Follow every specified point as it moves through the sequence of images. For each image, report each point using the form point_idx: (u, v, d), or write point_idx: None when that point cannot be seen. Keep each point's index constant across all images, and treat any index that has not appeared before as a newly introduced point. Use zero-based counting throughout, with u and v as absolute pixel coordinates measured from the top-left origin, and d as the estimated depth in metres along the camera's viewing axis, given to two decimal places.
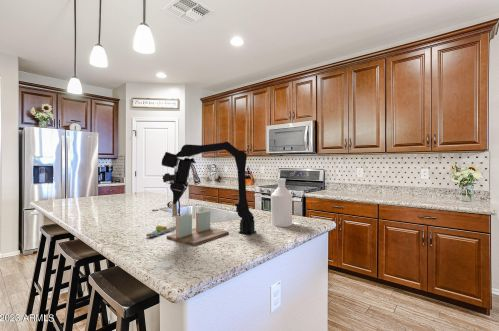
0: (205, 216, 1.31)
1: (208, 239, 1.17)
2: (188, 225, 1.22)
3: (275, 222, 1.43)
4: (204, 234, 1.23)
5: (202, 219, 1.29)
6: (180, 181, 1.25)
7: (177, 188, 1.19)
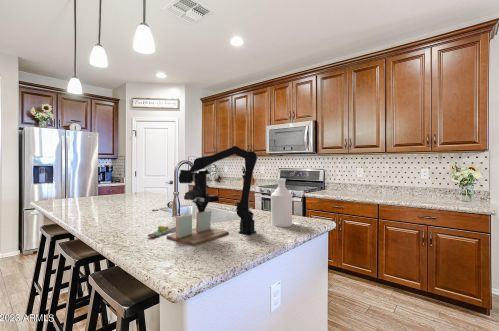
0: (206, 216, 1.31)
1: (208, 239, 1.17)
2: (188, 225, 1.22)
3: (275, 222, 1.43)
4: (204, 234, 1.23)
5: (203, 219, 1.29)
6: (205, 194, 1.30)
7: (215, 200, 1.27)
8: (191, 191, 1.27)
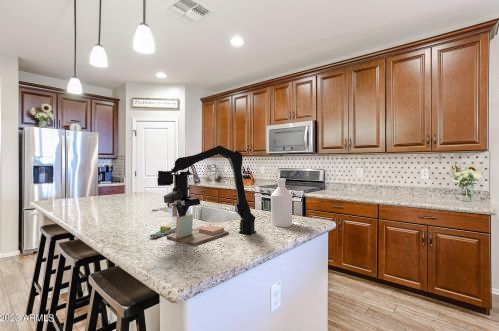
0: None
1: (208, 239, 1.17)
2: (188, 225, 1.22)
3: (275, 222, 1.43)
4: (204, 234, 1.23)
5: None
6: (186, 196, 1.21)
7: (196, 203, 1.17)
8: (170, 194, 1.17)
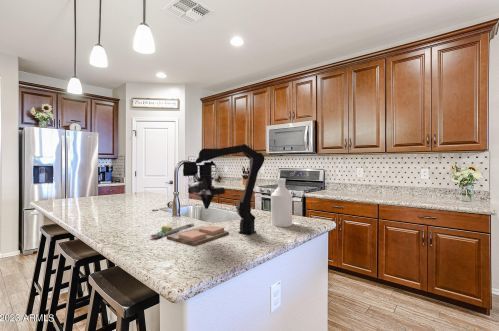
0: None
1: (208, 239, 1.17)
2: None
3: (275, 222, 1.43)
4: None
5: None
6: (210, 186, 1.24)
7: (221, 192, 1.20)
8: (196, 183, 1.21)
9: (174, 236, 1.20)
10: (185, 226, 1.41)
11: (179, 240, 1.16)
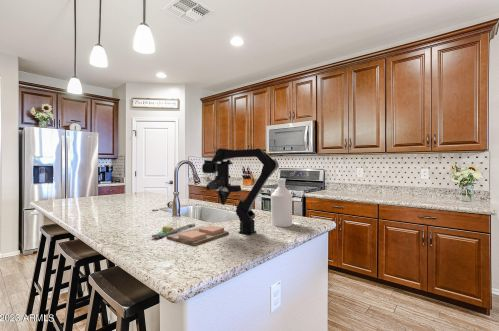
0: None
1: (208, 239, 1.17)
2: None
3: (275, 222, 1.43)
4: None
5: None
6: (227, 184, 1.32)
7: (238, 190, 1.29)
8: (214, 181, 1.29)
9: (174, 236, 1.20)
10: (186, 226, 1.41)
11: (179, 240, 1.16)
